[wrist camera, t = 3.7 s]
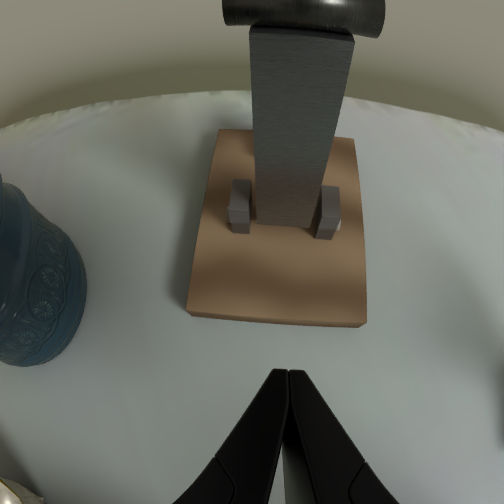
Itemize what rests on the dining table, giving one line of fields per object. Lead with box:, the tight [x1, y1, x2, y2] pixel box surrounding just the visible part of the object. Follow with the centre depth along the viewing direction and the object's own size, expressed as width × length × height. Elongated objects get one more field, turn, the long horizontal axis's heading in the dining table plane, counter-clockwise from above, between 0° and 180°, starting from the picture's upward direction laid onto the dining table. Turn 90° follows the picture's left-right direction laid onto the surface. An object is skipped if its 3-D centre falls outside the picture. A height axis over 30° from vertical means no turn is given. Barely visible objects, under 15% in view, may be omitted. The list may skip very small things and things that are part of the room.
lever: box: [222, 0, 385, 228], centre depth 15 cm, size 2×5×16 cm, turn 85°
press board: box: [186, 129, 367, 328], centre depth 22 cm, size 16×12×7 cm
